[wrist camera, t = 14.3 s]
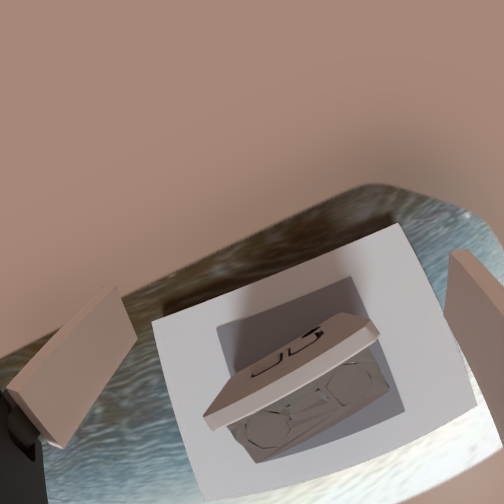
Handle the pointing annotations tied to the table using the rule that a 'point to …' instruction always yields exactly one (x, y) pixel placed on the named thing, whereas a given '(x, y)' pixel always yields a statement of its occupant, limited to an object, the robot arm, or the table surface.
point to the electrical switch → (301, 388)
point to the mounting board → (343, 433)
